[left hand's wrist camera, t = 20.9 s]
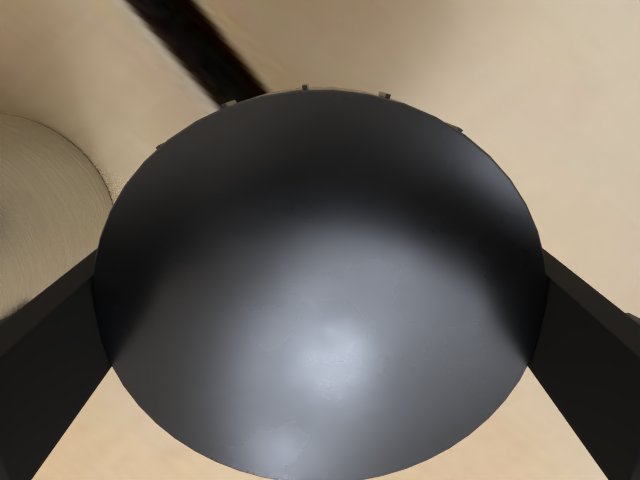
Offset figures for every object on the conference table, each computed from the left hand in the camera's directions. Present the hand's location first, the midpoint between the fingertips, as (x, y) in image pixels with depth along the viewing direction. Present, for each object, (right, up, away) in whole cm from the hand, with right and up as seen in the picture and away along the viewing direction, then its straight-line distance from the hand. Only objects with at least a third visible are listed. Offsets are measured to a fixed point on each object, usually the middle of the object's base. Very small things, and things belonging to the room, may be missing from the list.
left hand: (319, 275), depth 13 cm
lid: (0, -1, -2) cm, 3 cm away
